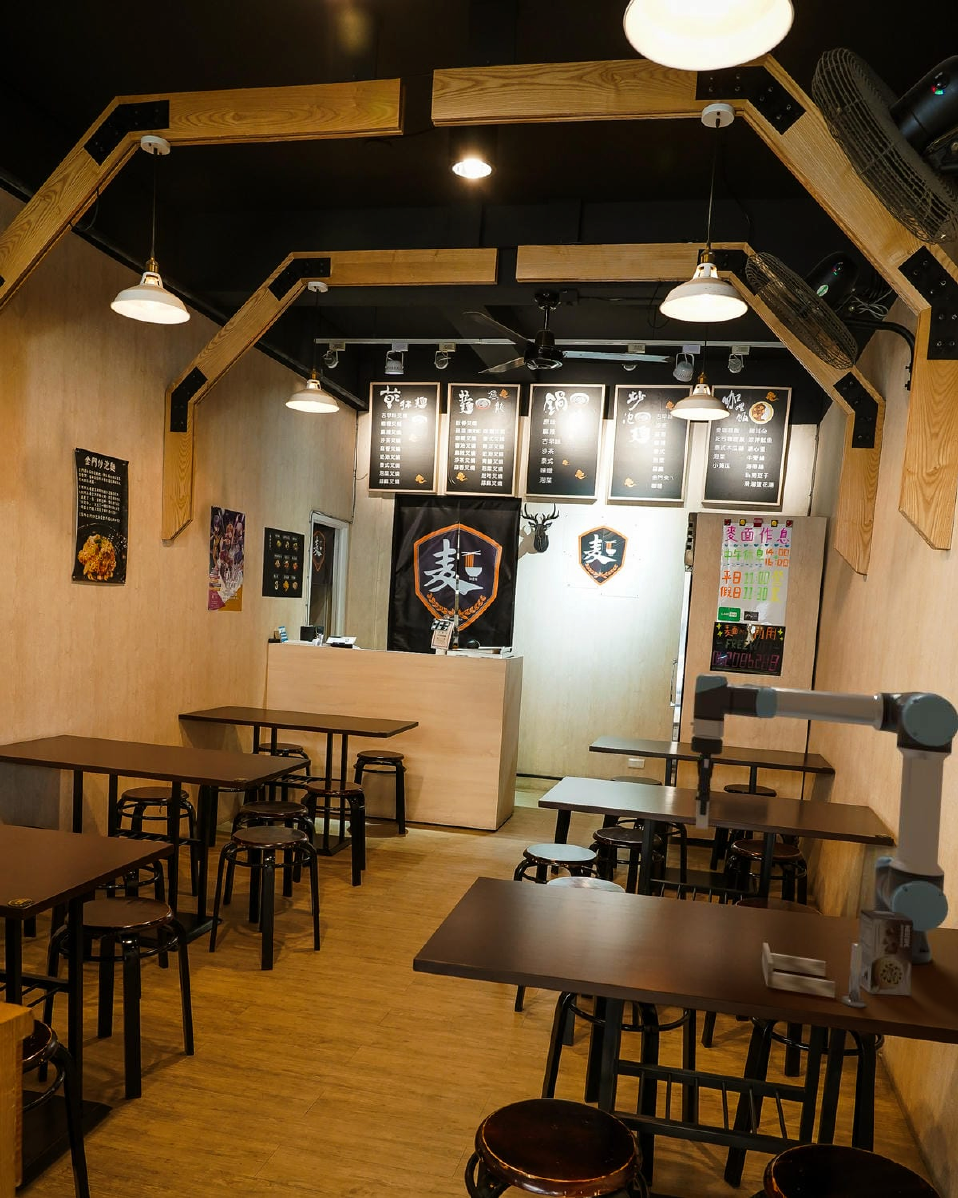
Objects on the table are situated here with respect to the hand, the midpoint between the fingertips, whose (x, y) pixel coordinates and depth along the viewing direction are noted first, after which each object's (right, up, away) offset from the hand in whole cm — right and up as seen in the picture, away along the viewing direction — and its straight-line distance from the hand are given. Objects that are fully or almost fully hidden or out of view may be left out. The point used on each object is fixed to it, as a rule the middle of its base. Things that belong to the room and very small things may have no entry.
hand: (701, 823), depth 220 cm
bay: (+15, -28, -25) cm, 41 cm away
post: (+23, -28, -36) cm, 51 cm away
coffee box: (+33, -30, -26) cm, 51 cm away
